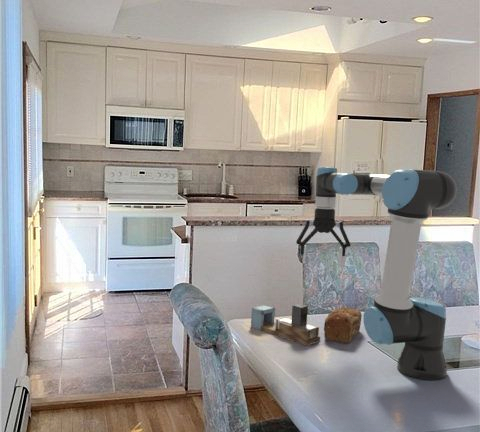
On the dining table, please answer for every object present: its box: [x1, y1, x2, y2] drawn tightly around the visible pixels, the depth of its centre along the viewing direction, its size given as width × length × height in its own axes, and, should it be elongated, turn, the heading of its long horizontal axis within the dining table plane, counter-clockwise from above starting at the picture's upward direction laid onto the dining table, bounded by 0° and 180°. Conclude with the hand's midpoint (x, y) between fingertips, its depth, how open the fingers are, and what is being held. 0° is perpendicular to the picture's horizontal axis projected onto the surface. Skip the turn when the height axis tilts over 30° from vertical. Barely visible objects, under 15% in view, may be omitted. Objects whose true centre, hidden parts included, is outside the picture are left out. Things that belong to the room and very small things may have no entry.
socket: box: [250, 304, 276, 331], centre depth 219 cm, size 5×8×8 cm, turn 137°
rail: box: [260, 318, 321, 346], centre depth 212 cm, size 27×8×5 cm, turn 47°
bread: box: [323, 306, 363, 344], centre depth 213 cm, size 19×11×10 cm, turn 155°
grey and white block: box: [275, 303, 318, 339], centre depth 208 cm, size 16×4×11 cm, turn 47°
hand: (322, 263), depth 213 cm, fingers open, 13 cm apart
